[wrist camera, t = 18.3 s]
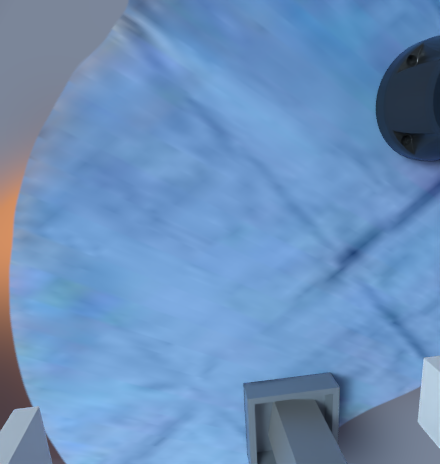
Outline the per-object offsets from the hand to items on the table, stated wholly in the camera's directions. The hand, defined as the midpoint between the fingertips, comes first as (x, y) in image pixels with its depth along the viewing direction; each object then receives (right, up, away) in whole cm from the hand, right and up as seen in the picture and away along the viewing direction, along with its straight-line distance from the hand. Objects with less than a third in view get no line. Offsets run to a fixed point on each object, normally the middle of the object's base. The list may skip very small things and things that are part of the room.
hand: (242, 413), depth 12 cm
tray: (+10, -24, +45) cm, 52 cm away
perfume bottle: (+11, -24, +45) cm, 52 cm away
